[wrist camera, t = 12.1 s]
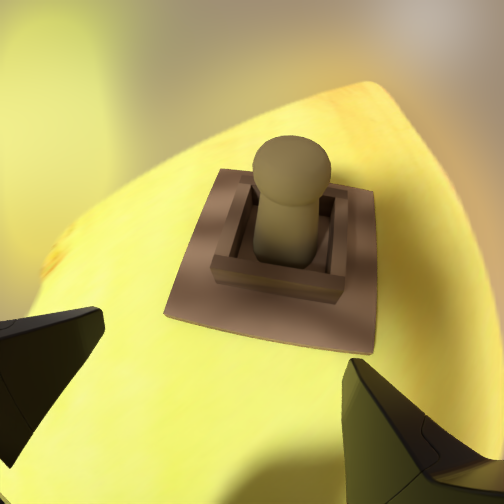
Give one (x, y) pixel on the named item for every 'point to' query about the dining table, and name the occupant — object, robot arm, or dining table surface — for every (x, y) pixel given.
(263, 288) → the holder board
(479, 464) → the robot arm
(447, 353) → the dining table surface
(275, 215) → the cork
